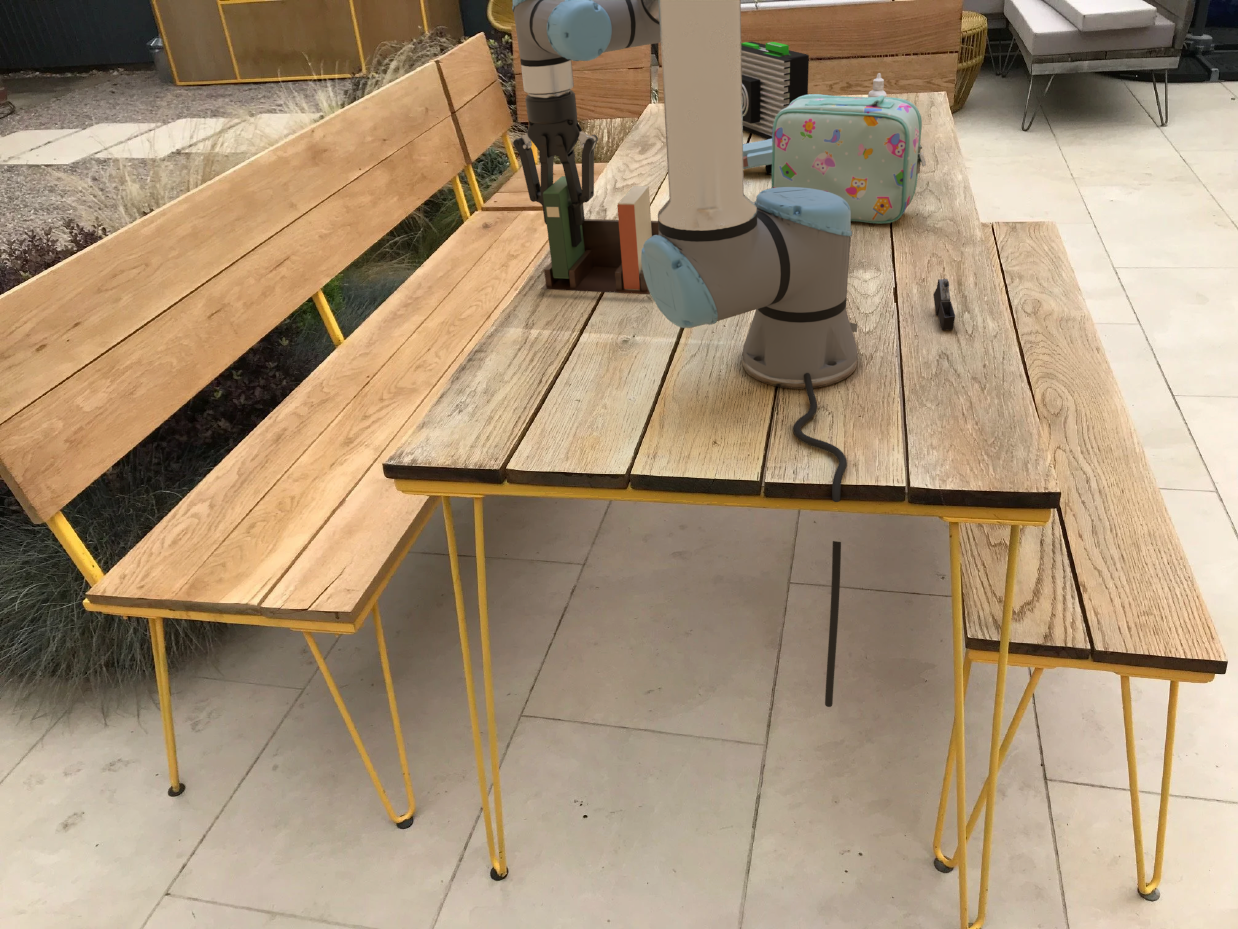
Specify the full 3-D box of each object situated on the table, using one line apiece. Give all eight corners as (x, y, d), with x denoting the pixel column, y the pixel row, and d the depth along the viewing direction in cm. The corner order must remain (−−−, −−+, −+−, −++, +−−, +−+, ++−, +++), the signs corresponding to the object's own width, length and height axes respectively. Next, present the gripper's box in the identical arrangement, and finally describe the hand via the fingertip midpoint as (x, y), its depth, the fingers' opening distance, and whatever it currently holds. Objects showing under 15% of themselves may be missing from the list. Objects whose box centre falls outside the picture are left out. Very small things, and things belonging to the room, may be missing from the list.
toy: (680, 143, 206) (821, 117, 198) (687, 178, 210) (825, 155, 202) (675, 156, 198) (821, 130, 190) (682, 193, 202) (825, 169, 194)
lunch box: (924, 212, 173) (937, 89, 162) (908, 231, 166) (920, 104, 155) (787, 198, 186) (789, 83, 174) (766, 215, 179) (767, 96, 167)
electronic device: (710, 123, 238) (708, 37, 227) (747, 116, 242) (747, 31, 231) (771, 147, 216) (772, 53, 206) (811, 138, 220) (814, 45, 209)
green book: (568, 279, 153) (558, 192, 145) (553, 278, 154) (542, 192, 146) (585, 259, 160) (577, 176, 152) (571, 258, 161) (561, 175, 153)
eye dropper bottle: (865, 130, 222) (869, 76, 215) (866, 124, 226) (869, 71, 220) (885, 130, 221) (889, 75, 214) (884, 123, 226) (888, 70, 219)
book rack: (650, 301, 150) (646, 245, 145) (541, 295, 155) (534, 241, 150) (667, 274, 159) (664, 220, 153) (564, 269, 164) (558, 217, 159)
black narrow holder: (953, 340, 136) (960, 321, 131) (938, 341, 136) (945, 321, 131) (947, 293, 139) (954, 272, 134) (932, 293, 139) (939, 273, 134)
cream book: (639, 290, 151) (633, 203, 143) (624, 289, 151) (617, 203, 144) (654, 269, 157) (649, 185, 150) (638, 269, 158) (633, 185, 151)
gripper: (607, 85, 143) (619, 236, 155) (510, 87, 147) (530, 234, 160) (591, 96, 137) (606, 253, 149) (491, 98, 141) (514, 250, 154)
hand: (567, 243), depth 154 cm, fingers closed on green book, 3 cm apart
